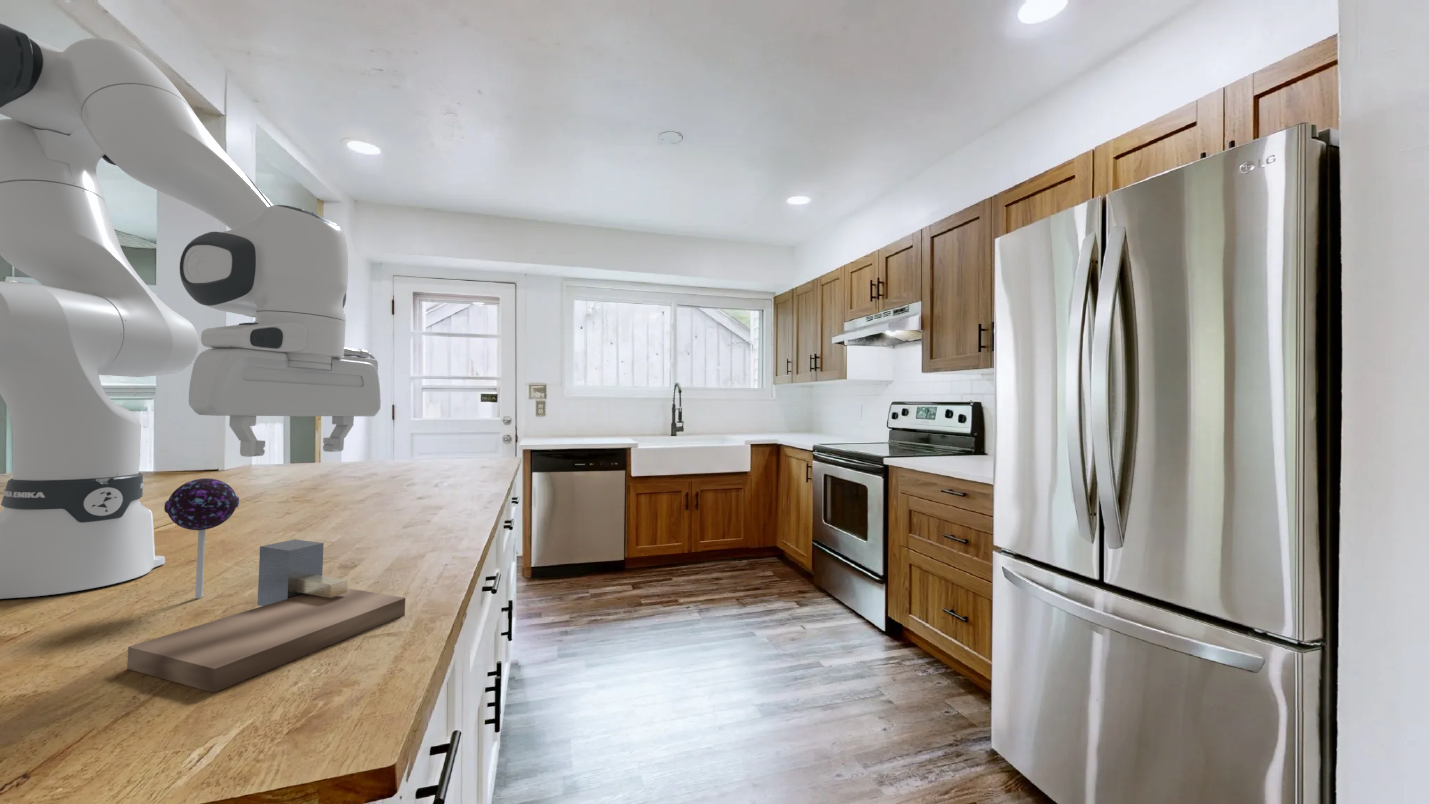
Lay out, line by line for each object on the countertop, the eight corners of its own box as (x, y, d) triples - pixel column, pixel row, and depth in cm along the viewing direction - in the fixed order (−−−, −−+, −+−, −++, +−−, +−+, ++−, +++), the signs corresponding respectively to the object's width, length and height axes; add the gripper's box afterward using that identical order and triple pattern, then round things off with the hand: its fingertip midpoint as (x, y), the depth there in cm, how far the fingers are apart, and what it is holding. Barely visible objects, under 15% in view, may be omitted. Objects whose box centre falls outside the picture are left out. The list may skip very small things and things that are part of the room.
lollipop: (188, 610, 64) (194, 483, 64) (144, 604, 65) (150, 480, 65) (249, 591, 70) (254, 476, 71) (208, 586, 72) (213, 474, 72)
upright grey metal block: (257, 605, 64) (260, 546, 64) (292, 594, 68) (295, 539, 68) (321, 617, 61) (323, 555, 61) (354, 605, 65) (356, 547, 65)
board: (127, 668, 49) (128, 645, 49) (330, 601, 67) (331, 584, 68) (213, 692, 46) (214, 667, 46) (404, 614, 64) (405, 596, 64)
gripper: (360, 351, 77) (355, 447, 77) (182, 328, 58) (175, 457, 57) (394, 351, 75) (389, 450, 75) (222, 327, 56) (214, 461, 55)
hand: (295, 453), depth 66 cm, fingers open, 8 cm apart
